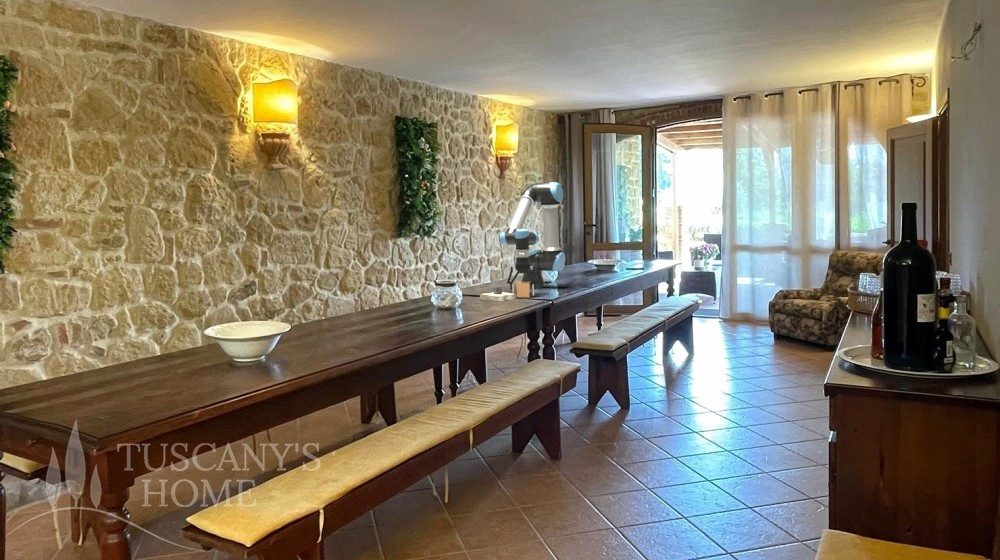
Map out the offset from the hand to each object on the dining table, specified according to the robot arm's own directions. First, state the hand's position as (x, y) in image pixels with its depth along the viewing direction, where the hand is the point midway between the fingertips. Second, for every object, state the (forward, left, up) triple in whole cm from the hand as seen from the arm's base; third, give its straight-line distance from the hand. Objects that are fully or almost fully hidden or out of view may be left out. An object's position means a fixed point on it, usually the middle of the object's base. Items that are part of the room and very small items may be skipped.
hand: (523, 295), depth 395 cm
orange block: (0, 0, 0) cm, 0 cm away
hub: (+17, -2, 0) cm, 17 cm away
